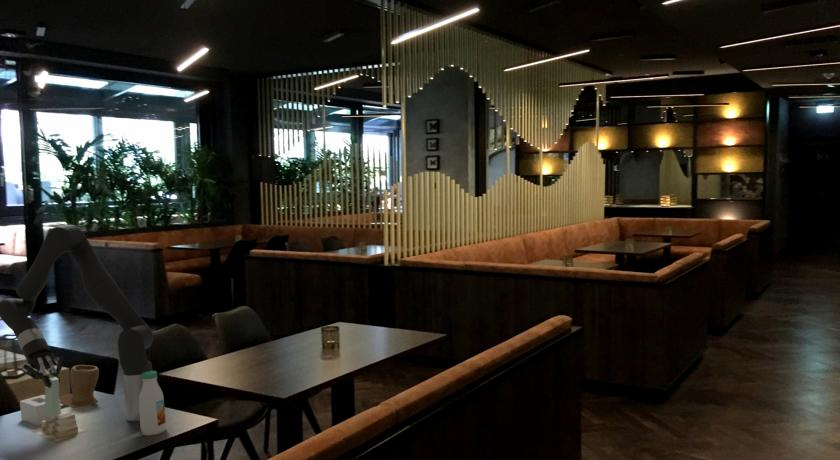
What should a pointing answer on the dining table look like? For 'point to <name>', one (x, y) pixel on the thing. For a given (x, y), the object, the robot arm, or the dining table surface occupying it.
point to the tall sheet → (52, 398)
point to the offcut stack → (64, 425)
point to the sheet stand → (35, 410)
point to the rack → (47, 432)
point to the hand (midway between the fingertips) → (54, 385)
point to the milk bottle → (151, 405)
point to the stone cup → (81, 386)
